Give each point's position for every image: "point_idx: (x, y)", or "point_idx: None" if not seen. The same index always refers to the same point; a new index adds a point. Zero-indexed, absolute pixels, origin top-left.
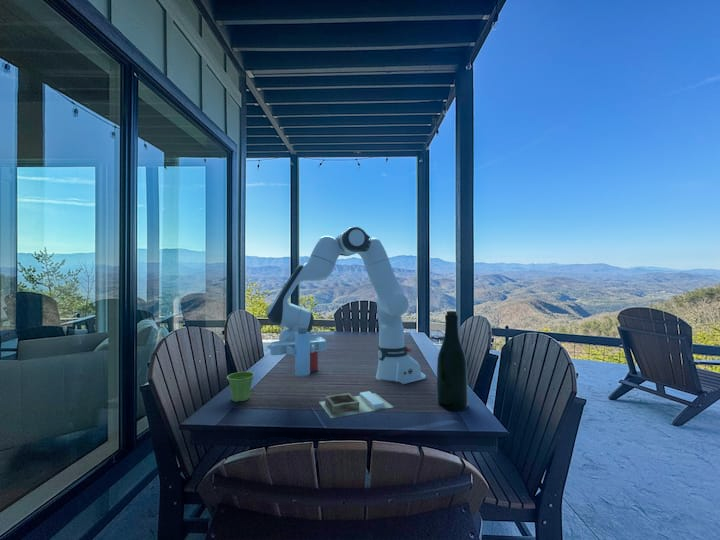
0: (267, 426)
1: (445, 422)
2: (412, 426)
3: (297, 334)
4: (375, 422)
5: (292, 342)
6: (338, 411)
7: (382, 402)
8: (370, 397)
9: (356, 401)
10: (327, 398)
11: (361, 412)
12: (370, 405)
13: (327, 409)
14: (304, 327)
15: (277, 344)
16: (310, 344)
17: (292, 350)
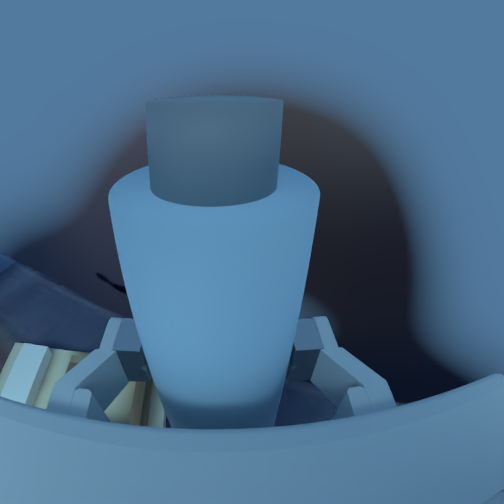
0: None
1: (10, 283)
2: (51, 292)
3: (286, 170)
4: (86, 326)
5: (333, 495)
6: None
7: (24, 346)
8: (19, 385)
9: (74, 361)
10: (137, 422)
11: (86, 354)
12: (45, 368)
13: (155, 409)
14: (198, 95)
15: (486, 393)
16: (85, 415)
17: (315, 318)
